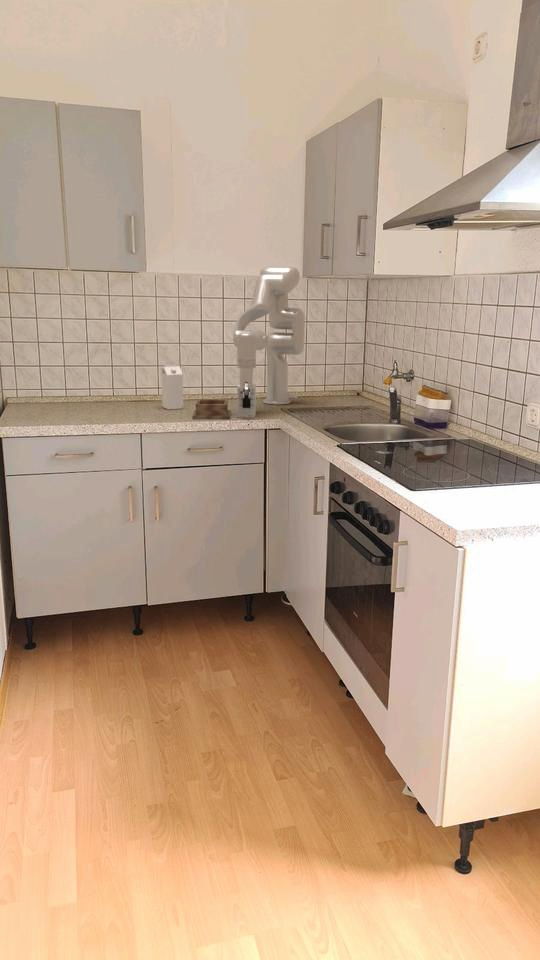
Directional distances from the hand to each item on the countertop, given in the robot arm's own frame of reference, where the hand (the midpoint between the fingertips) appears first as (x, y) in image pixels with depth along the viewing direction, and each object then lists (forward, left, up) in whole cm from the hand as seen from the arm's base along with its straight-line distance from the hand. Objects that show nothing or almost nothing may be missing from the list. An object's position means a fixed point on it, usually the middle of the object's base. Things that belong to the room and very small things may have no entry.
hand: (246, 405), depth 289 cm
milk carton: (+32, -18, -5) cm, 37 cm away
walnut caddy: (+14, 0, -4) cm, 15 cm away
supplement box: (0, 0, -5) cm, 5 cm away
